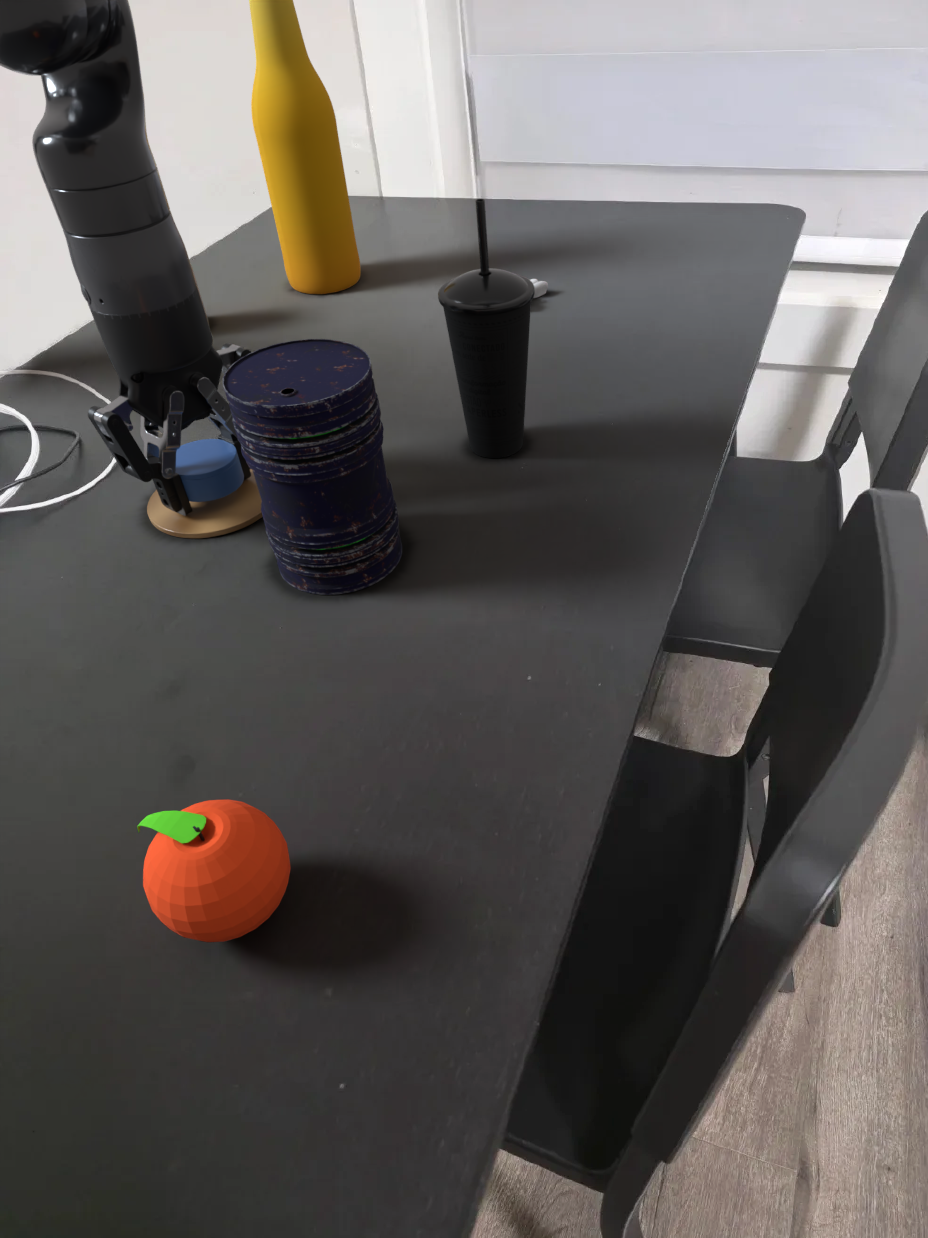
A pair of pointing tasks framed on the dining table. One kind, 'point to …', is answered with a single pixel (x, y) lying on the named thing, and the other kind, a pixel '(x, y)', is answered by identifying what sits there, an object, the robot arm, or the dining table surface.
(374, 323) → the dining table surface
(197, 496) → the jar lid
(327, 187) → the beer bottle
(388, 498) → the navy ridged cylinder
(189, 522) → the coaster
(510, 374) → the drinking cup
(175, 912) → the clementine
